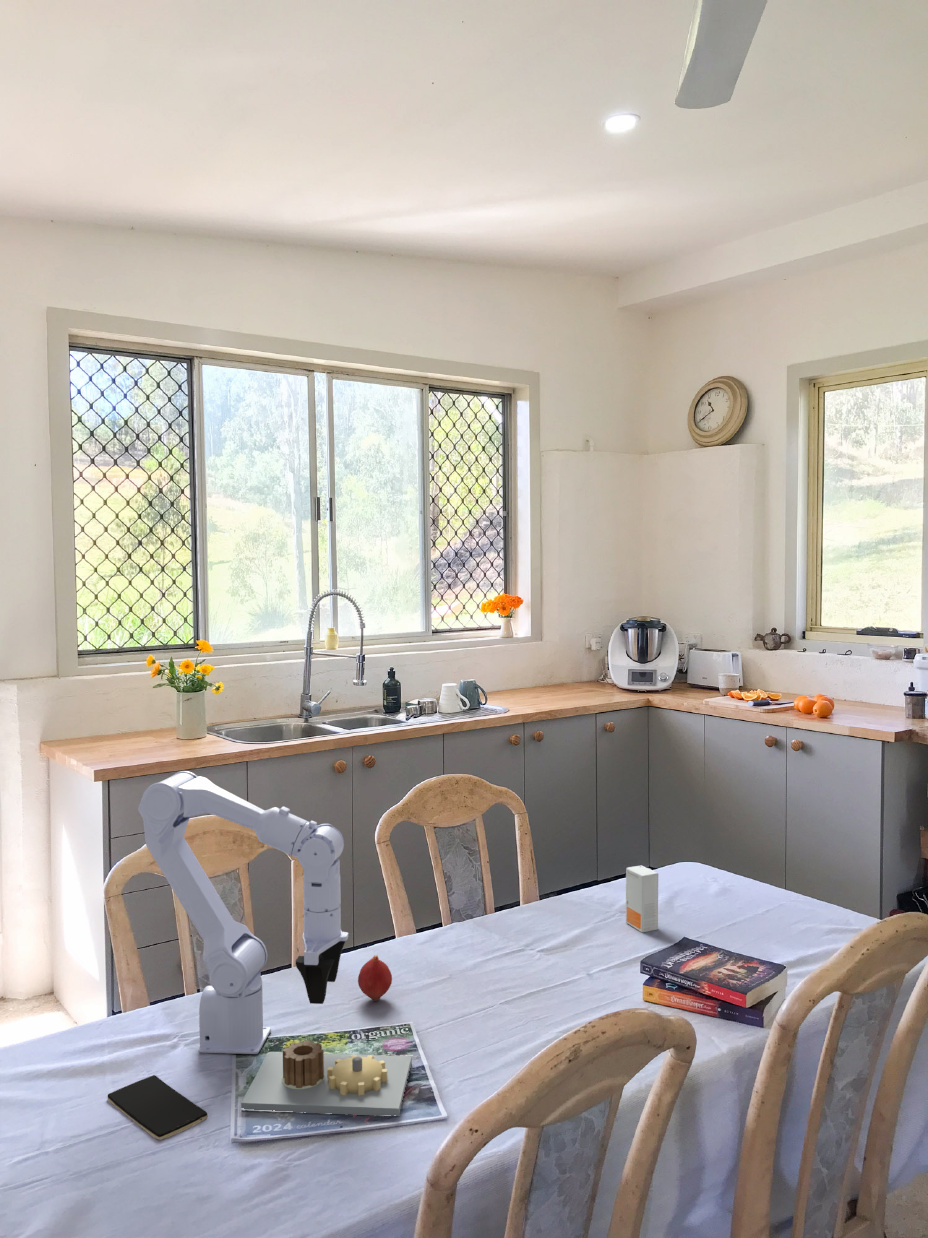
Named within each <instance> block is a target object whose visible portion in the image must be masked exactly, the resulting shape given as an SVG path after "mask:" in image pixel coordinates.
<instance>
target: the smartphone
mask: <svg viewBox="0 0 928 1238" xmlns="http://www.w3.org/2000/svg"><path fill="white" fill-rule="evenodd" d="M107 1101H108V1102H109V1103H110V1104H112V1105H113V1106H114V1107H116V1108H117V1109H118V1110H119V1111H121V1112H122V1113H123V1114H124V1115H126V1116H127V1117H128V1118H129V1119H130V1120H132V1121H133V1122H134V1123H135V1124H137V1125H138V1127H140V1128H142V1130H144V1131H146V1132H147V1134H149V1135H150V1136H152V1137H153V1138H155V1139H157V1140H158V1141H159V1140H164V1139H168V1138H171V1137H172V1136H175V1135H177V1134H179V1133H181V1132H184V1131H185V1130H188V1129H190V1128H192V1127H194V1126H196V1125H197V1124H199V1123H201V1122H203V1121H205V1120H206V1119H207V1118H208V1116H209V1115H208V1114H209V1113H207V1111H206V1110H204V1109H203V1108H201V1107H200V1106H199V1105H197V1104H196V1103H194V1102H193V1101H191V1100H189V1098H187V1097H185V1096H184V1095H183V1094H181V1093H180V1092H178V1091H177V1090H175V1089H174V1088H173V1087H172V1086H170V1085H168V1084H167V1083H166V1082H164V1081H163V1080H162V1079H161V1078H159V1077H158V1076H157V1075H155V1074H154V1075H151V1076H148V1077H144V1078H142V1079H140V1080H137V1081H136V1082H133V1083H130V1084H128V1085H124V1087H121V1088H118V1089H117V1090H114V1091H112V1092H110V1093H108V1094H107Z"/></svg>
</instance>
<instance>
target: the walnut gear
mask: <svg viewBox="0 0 928 1238" xmlns="http://www.w3.org/2000/svg"><path fill="white" fill-rule="evenodd" d="M322 1047H323V1045H322V1043H321V1042H317V1043H315V1042H313V1041H312V1042H311V1040H306V1039H305V1040H304V1041H300V1042H296V1041H294V1042H291V1043H290V1044H289V1046H288V1047H286V1048H283V1050H282V1052H283V1078H285V1084H286V1085H287V1086H288V1085H293V1086H295V1085H296V1088H302V1087H303V1086H309V1085H311V1086H314V1085H316V1084H317V1082H318V1081H319V1080H320V1079H323V1077H324V1054H325V1052H324V1049H323V1048H322Z"/></svg>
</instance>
